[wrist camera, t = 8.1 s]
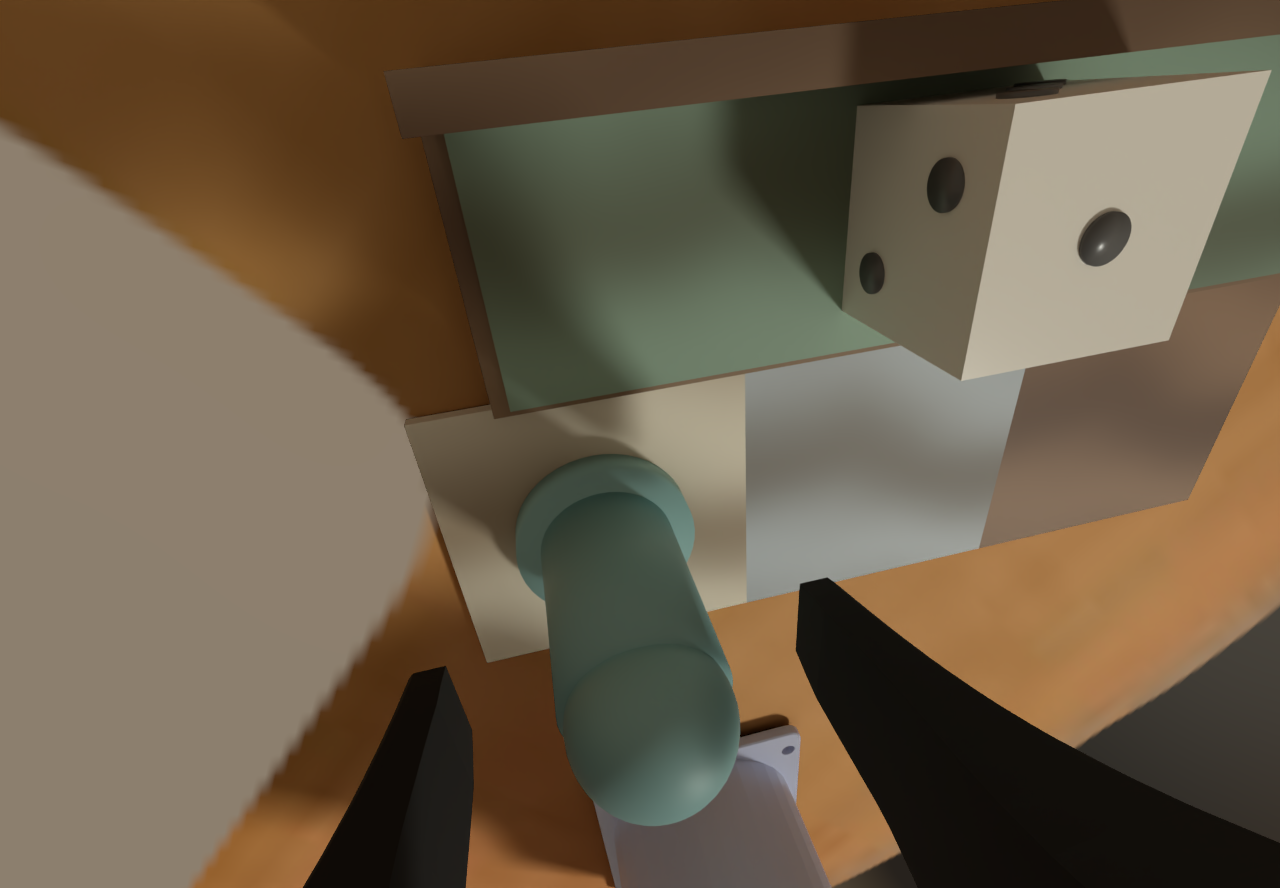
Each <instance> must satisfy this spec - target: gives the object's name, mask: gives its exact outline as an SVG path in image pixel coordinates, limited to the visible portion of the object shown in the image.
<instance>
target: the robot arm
mask: <svg viewBox="0 0 1280 888" xmlns="http://www.w3.org/2000/svg"><path fill="white" fill-rule="evenodd" d="M796 652H797V654H798V657H799V659H800V661H801V664H802V666H803V669H804V671H805V673H806V676H807V678H808V680H809V682H810V685H811V687H812V689H813V691H814V694H815V696H816V698H817V700H818V702H819V703H820V705H821V707H822V709H823V710H824V712H825V714H826V716H827V718H828V719H829V721H830V723H831V725H832V726H833V728H834V730H835V732H836V733H837V735H838V737H839V739H840V740H841V742H842V744H843V745H844V747H845V749H846V751H847V752H848V754H849V756H850V758H851V759H852V761H853V763H854V764H855V766H856V768H857V770H858V771H859V773H860V775H861V777H862V778H863V780H864V782H865V784H866V785H867V787H868V789H869V790H870V792H871V794H872V796H873V797H874V799H875V801H876V803H877V804H878V806H879V808H880V810H881V812H882V814H883V816H884V818H885V820H886V821H887V823H888V825H889V827H890V829H891V831H892V834H893V836H894V838H895V840H896V842H897V844H898V846H899V848H900V851H901V853H902V855H903V857H904V859H905V861H906V863H907V865H908V867H909V870H910V872H911V874H912V876H913V878H914V881H915V883H916V885H917V887H918V888H1280V843H1278V842H1276V841H1274V840H1271V839H1269V838H1266V837H1264V836H1261V835H1259V834H1257V833H1254V832H1252V831H1250V830H1247V829H1245V828H1242V827H1240V826H1238V825H1235V824H1233V823H1231V822H1228V821H1226V820H1224V819H1221V818H1218V817H1216V816H1214V815H1211V814H1209V813H1207V812H1204V811H1202V810H1200V809H1197V808H1195V807H1193V806H1191V805H1188V804H1186V803H1184V802H1182V801H1179V800H1177V799H1175V798H1173V797H1171V796H1169V795H1166V794H1165V793H1162V792H1160V791H1158V790H1156V789H1154V788H1152V787H1149V786H1147V785H1145V784H1143V783H1141V782H1139V781H1137V780H1135V779H1133V778H1131V777H1128V776H1127V775H1125V774H1122V773H1121V772H1119V771H1117V770H1115V769H1113V768H1111V767H1109V766H1107V765H1105V764H1103V763H1101V762H1099V761H1097V760H1095V759H1093V758H1092V757H1090V756H1088V755H1086V754H1084V753H1082V752H1080V751H1078V750H1077V749H1075V748H1073V747H1071V746H1069V745H1067V744H1065V743H1063V742H1061V741H1059V740H1058V739H1056V738H1054V737H1052V736H1050V735H1049V734H1047V733H1045V732H1043V731H1042V730H1040V729H1038V728H1036V727H1035V726H1033V725H1031V724H1030V723H1028V722H1026V721H1025V720H1023V719H1021V718H1020V717H1018V716H1016V715H1015V714H1013V713H1011V712H1010V711H1008V710H1006V709H1005V708H1003V707H1002V706H1000V705H998V704H997V703H995V702H994V701H992V700H991V699H989V698H987V697H986V696H984V695H983V694H981V693H980V692H978V691H977V690H975V689H974V688H972V687H971V686H969V685H968V684H966V683H965V682H963V681H962V680H961V679H959V678H958V677H956V676H955V675H953V674H952V673H950V672H949V671H948V670H946V669H945V668H943V667H942V666H941V665H939V664H938V663H936V662H935V661H934V660H932V659H931V658H929V657H928V656H927V655H925V654H924V653H923V652H921V651H920V650H919V649H917V648H916V647H915V646H913V645H912V644H911V643H909V642H908V641H907V640H906V639H904V638H903V637H902V636H900V635H899V634H898V633H896V632H895V631H894V630H892V629H891V628H890V627H889V626H887V625H886V624H885V623H884V622H882V621H881V620H880V619H879V618H877V617H876V616H875V615H874V614H872V613H871V612H870V611H869V610H867V609H866V608H865V607H864V606H862V605H861V604H860V603H859V602H858V601H856V600H855V599H854V598H853V597H852V596H850V595H849V594H848V593H847V592H845V591H844V590H843V589H842V588H841V587H839V586H838V585H837V584H836V583H834V582H833V581H832V580H831V579H829V578H828V577H827V578H822V579H818V580H814V581H809V582H805V583H801V584H800V589H799V606H798V622H797V639H796ZM800 740H801V737H800V734H799V732H798V730H797V728H796V727H795V726H792V725H785V726H781V727H777V728H774V729H770V730H766V731H762V732H758V733H755V734H751V735H747V736H743V737H740V740H739V748H738V753H737V756H736V760H735V763H734V766H733V769H732V771H731V773H730V775H729V777H728V780H727V781H726V783H725V784H724V786H723V787H722V789H721V790H720V792H719V793H718V794H717V796H716V797H715V798H714V799H713V800H712V801H711V802H710V803H709V804H708V805H707V806H706V807H704V808H703V809H702V810H701V811H699V812H698V813H696V814H694V815H693V816H691V817H689V818H686V819H684V820H682V821H679V822H676V823H672V824H668V825H662V826H643V825H637V824H632V823H628V822H625V821H623V820H621V819H618V818H616V817H614V816H612V815H611V814H609V813H608V812H606V811H605V810H603V809H602V808H600V807H599V806H598V805H597V804H596V803H595V802H594V801H593V802H594V806H595V809H596V813H597V817H598V821H599V825H600V829H601V833H602V837H603V841H604V844H605V848H606V852H607V856H608V860H609V864H610V868H611V872H612V876H613V880H614V883H615V887H616V888H832V887H831V885H830V883H829V880H828V878H827V876H826V873H825V871H824V869H823V866H822V864H821V862H820V859H819V857H818V855H817V852H816V850H815V848H814V845H813V843H812V841H811V838H810V836H809V834H808V831H807V829H806V827H805V824H804V822H803V819H802V817H801V815H800V812H799V810H798V808H797V805H796V797H797V782H798V768H799V754H800ZM473 788H474V779H473V741H472V729H471V727H470V724H469V722H468V719H467V717H466V714H465V712H464V709H463V707H462V705H461V702H460V700H459V697H458V695H457V692H456V690H455V687H454V685H453V683H452V680H451V678H450V675H449V673H448V670H447V668H446V666H444V667H440V668H435V669H431V670H427V671H422V672H418V673H414V674H413V675H412V676H411V677H410V678H409V680H408V682H407V685H406V687H405V690H404V692H403V694H402V697H401V699H400V701H399V704H398V706H397V708H396V710H395V713H394V715H393V717H392V719H391V722H390V724H389V726H388V728H387V730H386V732H385V735H384V737H383V739H382V741H381V743H380V745H379V747H378V750H377V752H376V754H375V756H374V758H373V760H372V762H371V764H370V766H369V768H368V770H367V772H366V774H365V776H364V778H363V780H362V782H361V784H360V786H359V788H358V790H357V792H356V794H355V796H354V798H353V800H352V802H351V803H350V805H349V807H348V809H347V811H346V813H345V814H344V816H343V818H342V820H341V822H340V823H339V825H338V827H337V829H336V831H335V833H334V834H333V836H332V838H331V840H330V842H329V843H328V845H327V847H326V849H325V851H324V852H323V854H322V856H321V858H320V859H319V861H318V863H317V865H316V866H315V868H314V870H313V871H312V873H311V875H310V876H309V878H308V880H307V881H306V883H305V885H304V886H303V888H466V876H467V864H468V852H469V840H470V828H471V815H472V802H473Z"/></svg>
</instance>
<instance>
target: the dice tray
mask: <svg viewBox="0 0 1280 888" xmlns="http://www.w3.org/2000/svg"><path fill="white" fill-rule="evenodd" d="M1259 70H1272V71H1271V73H1270V76H1269V79H1268V81H1267V84H1266V86H1265V89H1264V92H1263V94H1262V97H1261V100H1260V102H1259V105H1258V107H1257V110H1256V113H1255V115H1254V118H1253V121H1252V123H1251V126H1250V128H1249V131H1248V134H1247V136H1246V139H1245V141H1244V144H1243V147H1242V149H1241V152H1240V155H1239V157H1238V160H1237V162H1236V165H1235V168H1234V170H1233V173H1232V176H1231V178H1230V181H1229V183H1228V186H1227V189H1226V191H1225V194H1224V197H1223V199H1222V202H1221V204H1220V207H1219V210H1218V212H1217V215H1216V218H1215V220H1214V223H1213V225H1212V228H1211V231H1210V233H1209V236H1208V239H1207V241H1206V244H1205V246H1204V249H1203V252H1202V254H1201V257H1200V260H1199V262H1198V265H1197V267H1196V270H1195V273H1194V275H1193V278H1192V280H1191V283H1190V286H1189V288H1188V291H1187V294H1188V293H1193V292H1199V291H1204V290H1210V289H1215V288H1221V287H1226V286H1232V285H1237V284H1243V283H1248V282H1254V281H1259V280H1265V279H1270V278H1276V277H1280V0H1062V1H1052V2H1042V3H1033V4H1023V5H1014V6H1004V7H995V8H985V9H975V10H966V11H956V12H947V13H937V14H927V15H918V16H908V17H899V18H889V19H880V20H870V21H860V22H851V23H841V24H832V25H822V26H812V27H803V28H793V29H784V30H774V31H765V32H755V33H745V34H736V35H726V36H717V37H707V38H697V39H688V40H678V41H669V42H659V43H650V44H640V45H630V46H621V47H611V48H602V49H592V50H582V51H573V52H563V53H554V54H544V55H535V56H525V57H515V58H506V59H496V60H487V61H477V62H467V63H458V64H448V65H439V66H429V67H420V68H410V69H400V70H391V71H384V75H385V78H386V82H387V86H388V89H389V93H390V97H391V100H392V104H393V108H394V111H395V115H396V119H397V122H398V126H399V130H400V133H401V137H402V139H405V138H414V137H421V138H422V142H423V146H424V150H425V154H426V158H427V162H428V165H429V169H430V173H431V177H432V181H433V185H434V189H435V193H436V196H437V200H438V204H439V208H440V212H441V216H442V220H443V224H444V227H445V231H446V235H447V239H448V243H449V247H450V251H451V255H452V258H453V262H454V266H455V270H456V274H457V278H458V282H459V286H460V289H461V293H462V297H463V301H464V305H465V309H466V313H467V317H468V320H469V324H470V328H471V332H472V336H473V340H474V344H475V348H476V351H477V355H478V359H479V363H480V367H481V371H482V375H483V379H484V382H485V386H486V390H487V394H488V398H489V402H490V406H491V410H492V413H493V417H494V419H499V418H504V417H510V416H515V415H521V414H526V413H532V412H537V411H543V410H548V409H554V408H559V407H565V406H570V405H576V404H581V403H587V402H592V401H598V400H603V399H609V398H614V397H620V396H625V395H631V394H636V393H642V392H647V391H653V390H658V389H664V388H670V387H675V386H681V385H686V384H692V383H697V382H703V381H708V380H714V379H719V378H725V377H730V376H736V375H741V374H747V373H752V372H758V371H763V370H769V369H774V368H780V367H785V366H791V365H796V364H802V363H807V362H813V361H818V360H824V359H829V358H835V357H840V356H846V355H851V354H857V353H862V352H868V351H873V350H879V349H884V348H890V347H896V346H901V345H899V344H897V343H896V342H894V341H892V340H891V339H889V338H887V337H885V336H884V335H882V334H880V333H879V332H877V331H875V330H874V329H872V328H870V327H868V326H867V325H865V324H863V323H862V322H860V321H858V320H857V319H855V318H853V317H851V316H850V315H848V314H846V313H845V312H843V311H842V299H843V286H844V273H845V260H846V247H847V233H848V220H849V207H850V194H851V181H852V168H853V155H854V142H855V128H856V115H857V106H859V105H867V104H875V103H883V102H890V101H898V100H906V99H914V98H921V97H929V96H937V95H945V94H952V93H960V92H968V91H976V90H983V89H991V88H999V87H1007V86H1014V84H1016V83H1022V82H1031V81H1040V80H1052V79H1067V80H1085V79H1104V78H1124V77H1143V76H1162V75H1182V74H1201V73H1220V72H1240V71H1259Z"/></svg>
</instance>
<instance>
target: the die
mask: <svg viewBox="0 0 1280 888" xmlns="http://www.w3.org/2000/svg"><path fill="white" fill-rule="evenodd" d="M1271 71H1272V70H1259V71H1240V72H1220V73H1201V74H1182V75H1162V76H1143V77H1124V78H1104V79H1085V80H1067V79H1052V80H1040V81H1031V82H1022V83H1016V84H1014V86H1007V87H999V88H991V89H983V90H976V91H968V92H960V93H952V94H945V95H937V96H929V97H921V98H914V99H906V100H898V101H890V102H883V103H875V104H867V105H859V106H857V115H856V128H855V142H854V155H853V168H852V181H851V194H850V207H849V220H848V233H847V247H846V260H845V273H844V286H843V299H842V311H843V312H845V313H846V314H848V315H850V316H851V317H853V318H855V319H857V320H858V321H860V322H862V323H863V324H865V325H867V326H868V327H870V328H872V329H874V330H875V331H877V332H879V333H880V334H882V335H884V336H885V337H887V338H889V339H891V340H892V341H894V342H896V343H897V344H899V345H901V346H902V347H904V348H906V349H908V350H909V351H911V352H913V353H914V354H916V355H918V356H919V357H921V358H923V359H925V360H926V361H928V362H930V363H931V364H933V365H935V366H936V367H938V368H940V369H942V370H943V371H945V372H947V373H948V374H950V375H952V376H953V377H955V378H957V379H959V380H960V381H964V380H969V379H974V378H979V377H984V376H989V375H994V374H1000V373H1005V372H1010V371H1015V370H1020V369H1025V368H1030V367H1035V366H1040V365H1045V364H1050V363H1056V362H1061V361H1066V360H1071V359H1076V358H1081V357H1086V356H1091V355H1096V354H1101V353H1106V352H1112V351H1117V350H1122V349H1127V348H1132V347H1137V346H1142V345H1147V344H1152V343H1157V342H1162V341H1168V340H1169V338H1170V336H1171V333H1172V330H1173V328H1174V325H1175V322H1176V320H1177V317H1178V315H1179V312H1180V309H1181V307H1182V304H1183V301H1184V299H1185V296H1186V294H1187V291H1188V288H1189V286H1190V283H1191V280H1192V278H1193V275H1194V273H1195V270H1196V267H1197V265H1198V262H1199V260H1200V257H1201V254H1202V252H1203V249H1204V246H1205V244H1206V241H1207V239H1208V236H1209V233H1210V231H1211V228H1212V225H1213V223H1214V220H1215V218H1216V215H1217V212H1218V210H1219V207H1220V204H1221V202H1222V199H1223V197H1224V194H1225V191H1226V189H1227V186H1228V183H1229V181H1230V178H1231V176H1232V173H1233V170H1234V168H1235V165H1236V162H1237V160H1238V157H1239V155H1240V152H1241V149H1242V147H1243V144H1244V141H1245V139H1246V136H1247V134H1248V131H1249V128H1250V126H1251V123H1252V121H1253V118H1254V115H1255V113H1256V110H1257V107H1258V105H1259V102H1260V100H1261V97H1262V94H1263V92H1264V89H1265V86H1266V84H1267V81H1268V79H1269V76H1270V73H1271Z"/></svg>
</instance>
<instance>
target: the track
mask: <svg viewBox="0 0 1280 888" xmlns="http://www.w3.org/2000/svg"><path fill="white" fill-rule="evenodd" d="M1279 305H1280V277H1276V278H1270V279H1265V280H1259V281H1254V282H1248V283H1243V284H1237V285H1232V286H1226V287H1221V288H1215V289H1210V290H1204V291H1199V292H1193V293H1188V294H1186V296H1185V299H1184V301H1183V304H1182V307H1181V309H1180V312H1179V315H1178V317H1177V320H1176V322H1175V325H1174V328H1173V330H1172V333H1171V336H1170V338H1169V340H1168V341H1162V342H1157V343H1152V344H1147V345H1142V346H1137V347H1132V348H1127V349H1122V350H1117V351H1112V352H1106V353H1101V354H1096V355H1091V356H1086V357H1081V358H1076V359H1071V360H1066V361H1061V362H1056V363H1050V364H1045V365H1040V366H1035V367H1030V368H1025V369H1020V370H1015V371H1010V372H1005V373H1000V374H994V375H989V376H984V377H979V378H974V379H969V380H964V381H960V380H959V379H957V378H955V377H953V376H952V375H950V374H948V373H947V372H945V371H943V370H942V369H940V368H938V367H936V366H935V365H933V364H931V363H930V362H928V361H926V360H925V359H923V358H921V357H919V356H918V355H916V354H914V353H913V352H911V351H909V350H908V349H906V348H904V347H902V346H896V347H890V348H884V349H879V350H873V351H868V352H862V353H857V354H851V355H846V356H840V357H835V358H829V359H824V360H818V361H813V362H807V363H802V364H796V365H791V366H785V367H780V368H774V369H769V370H763V371H758V372H752V373H747V374H741V375H736V376H730V377H725V378H719V379H714V380H708V381H703V382H697V383H692V384H686V385H681V386H675V387H670V388H664V389H658V390H653V391H647V392H642V393H636V394H631V395H625V396H620V397H614V398H609V399H603V400H598V401H592V402H587V403H581V404H576V405H570V406H565V407H559V408H554V409H548V410H543V411H537V412H532V413H526V414H521V415H515V416H510V417H504V418H499V419H494V417H493V413H492V410H491V406H490V405H485V406H479V407H474V408H468V409H462V410H457V411H451V412H446V413H440V414H434V415H429V416H423V417H418V418H412V419H406V421H405V424H404V427H405V429H406V432H407V435H408V438H409V441H410V444H411V447H412V449H413V452H414V455H415V458H416V461H417V464H418V467H419V469H420V472H421V475H422V478H423V481H424V484H425V487H426V489H427V492H428V495H429V498H430V501H431V504H432V507H433V510H434V512H435V515H436V518H437V521H438V524H439V527H440V530H441V532H442V535H443V538H444V541H445V544H446V547H447V550H448V552H449V555H450V558H451V561H452V564H453V567H454V570H455V572H456V575H457V578H458V581H459V584H460V587H461V590H462V592H463V595H464V598H465V601H466V604H467V607H468V610H469V612H470V615H471V618H472V621H473V624H474V627H475V630H476V632H477V635H478V638H479V641H480V644H481V647H482V650H483V652H484V655H485V658H486V661H487V663H489V662H494V661H498V660H502V659H506V658H511V657H515V656H519V655H524V654H528V653H532V652H536V651H541V650H545V649H549V637H548V626H547V616H546V605H545V601H544V600H542V599H541V598H539V597H538V596H537V595H536V594H535V593H534V592H533V591H531V589H530V588H529V587H528V586H527V584H526V583H525V581H524V580H523V578H522V576H521V574H520V571H519V568H518V564H517V559H516V535H515V528H516V521H517V517H518V514H519V511H520V508H521V506H522V504H523V502H524V500H525V499H526V497H527V496H528V494H529V493H530V491H531V490H532V489H533V488H534V487H535V486H536V485H537V484H538V483H539V482H540V481H541V480H542V479H543V478H544V477H546V476H547V475H548V474H550V473H551V472H553V471H554V470H556V469H557V468H559V467H561V466H563V465H565V464H567V463H569V462H572V461H575V460H577V459H580V458H584V457H588V456H593V455H601V454H622V455H629V456H634V457H638V458H641V459H644V460H647V461H649V462H651V463H653V464H655V465H657V466H658V467H660V468H661V469H663V470H664V471H665V472H666V473H668V474H669V475H670V476H671V477H672V478H673V480H674V481H675V482H676V484H677V485H678V486H679V488H680V490H681V492H682V494H683V496H684V498H685V501H686V503H687V505H688V507H689V509H690V511H691V514H692V517H693V520H694V527H695V539H694V545H693V549H692V552H691V555H690V557H689V559H688V561H687V565H688V568H689V570H690V573H691V575H692V577H693V580H694V582H695V585H696V587H697V589H698V592H699V594H700V597H701V599H702V602H703V604H704V606H705V609H706V611H707V612H708V611H712V610H716V609H721V608H725V607H729V606H734V605H738V604H742V603H746V602H751V601H755V600H759V599H764V598H768V597H772V596H776V595H781V594H785V593H789V592H794V591H798V590H799V589H800V584H801V583H805V582H809V581H814V580H818V579H822V578H827V577H828V578H829V579H831V580H832V581H833V582H836V581H841V580H845V579H849V578H854V577H858V576H862V575H866V574H871V573H875V572H879V571H884V570H888V569H892V568H896V567H901V566H905V565H909V564H914V563H918V562H922V561H926V560H931V559H935V558H939V557H944V556H948V555H952V554H956V553H961V552H965V551H969V550H974V549H978V548H982V547H986V546H991V545H995V544H999V543H1004V542H1008V541H1012V540H1016V539H1021V538H1025V537H1029V536H1034V535H1038V534H1042V533H1046V532H1051V531H1055V530H1059V529H1064V528H1068V527H1072V526H1076V525H1081V524H1085V523H1089V522H1094V521H1098V520H1102V519H1106V518H1111V517H1115V516H1119V515H1124V514H1128V513H1132V512H1136V511H1141V510H1145V509H1149V508H1154V507H1158V506H1162V505H1166V504H1171V503H1175V502H1179V501H1184V500H1188V498H1189V496H1190V494H1191V492H1192V490H1193V488H1194V486H1195V483H1196V481H1197V479H1198V477H1199V475H1200V473H1201V471H1202V469H1203V466H1204V464H1205V462H1206V460H1207V458H1208V456H1209V454H1210V452H1211V449H1212V447H1213V445H1214V443H1215V441H1216V439H1217V437H1218V435H1219V433H1220V430H1221V428H1222V426H1223V424H1224V422H1225V420H1226V418H1227V416H1228V413H1229V411H1230V409H1231V407H1232V405H1233V403H1234V401H1235V399H1236V397H1237V394H1238V392H1239V390H1240V388H1241V386H1242V384H1243V382H1244V380H1245V377H1246V375H1247V373H1248V371H1249V369H1250V367H1251V365H1252V363H1253V360H1254V358H1255V356H1256V354H1257V352H1258V350H1259V348H1260V346H1261V344H1262V341H1263V339H1264V337H1265V335H1266V333H1267V331H1268V329H1269V327H1270V324H1271V322H1272V320H1273V318H1274V316H1275V314H1276V312H1277V310H1278V308H1279Z"/></svg>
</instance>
